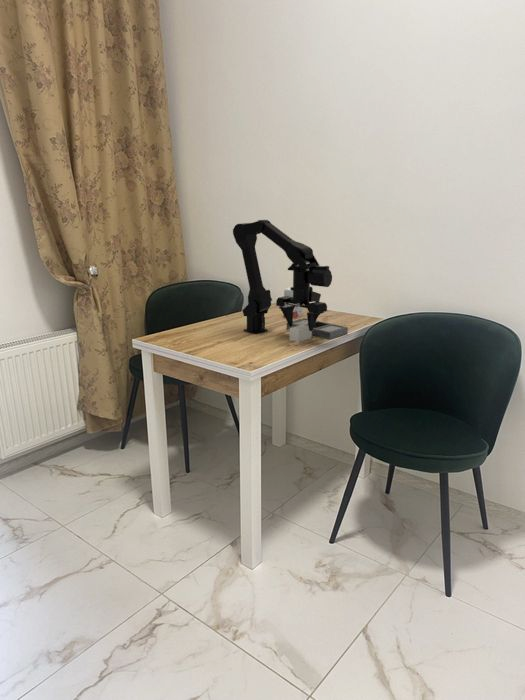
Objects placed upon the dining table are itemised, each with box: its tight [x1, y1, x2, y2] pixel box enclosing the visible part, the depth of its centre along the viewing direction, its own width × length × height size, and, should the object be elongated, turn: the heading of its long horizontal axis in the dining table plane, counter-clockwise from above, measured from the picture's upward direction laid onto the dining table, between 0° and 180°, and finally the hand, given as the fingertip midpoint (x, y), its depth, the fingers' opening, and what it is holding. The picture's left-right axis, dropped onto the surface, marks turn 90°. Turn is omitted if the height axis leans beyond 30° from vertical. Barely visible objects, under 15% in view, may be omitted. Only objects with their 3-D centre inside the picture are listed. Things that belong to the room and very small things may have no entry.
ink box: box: [283, 286, 303, 319], centre depth 207 cm, size 9×5×12 cm, turn 149°
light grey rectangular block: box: [289, 325, 313, 343], centre depth 174 cm, size 7×4×4 cm, turn 134°
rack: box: [286, 317, 349, 340], centre depth 183 cm, size 11×20×3 cm, turn 45°
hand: (300, 328), depth 173 cm, fingers open, 9 cm apart
